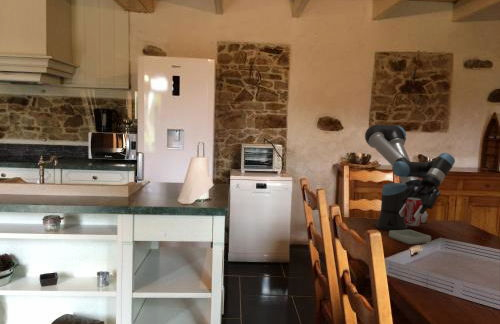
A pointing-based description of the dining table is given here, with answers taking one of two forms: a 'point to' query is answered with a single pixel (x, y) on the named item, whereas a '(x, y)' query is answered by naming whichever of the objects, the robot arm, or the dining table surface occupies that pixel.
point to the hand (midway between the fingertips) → (408, 216)
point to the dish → (409, 236)
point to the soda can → (412, 211)
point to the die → (424, 217)
